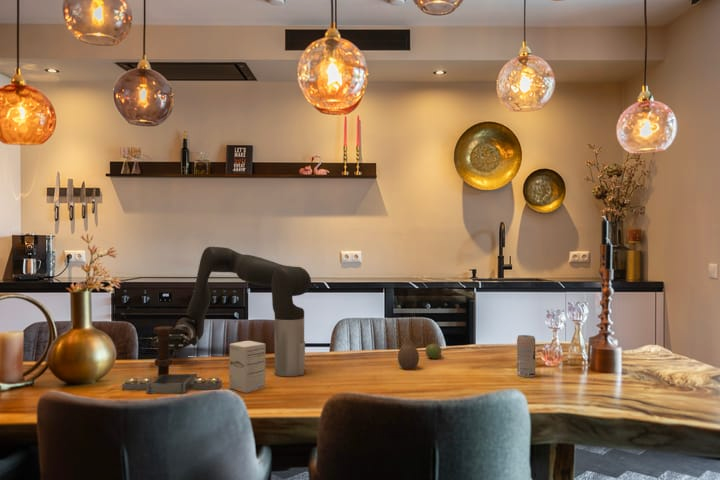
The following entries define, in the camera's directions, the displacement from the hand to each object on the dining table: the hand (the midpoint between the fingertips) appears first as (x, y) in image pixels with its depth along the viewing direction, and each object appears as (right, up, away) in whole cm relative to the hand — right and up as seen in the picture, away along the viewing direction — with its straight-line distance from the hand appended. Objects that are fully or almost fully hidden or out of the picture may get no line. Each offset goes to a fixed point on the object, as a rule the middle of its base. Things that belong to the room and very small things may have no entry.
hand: (170, 344), depth 171 cm
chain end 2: (+13, -8, -22) cm, 27 cm away
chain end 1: (+4, -8, -23) cm, 24 cm away
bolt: (+1, -8, -10) cm, 13 cm away
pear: (+88, -8, +19) cm, 90 cm away
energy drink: (+112, -8, -9) cm, 113 cm away
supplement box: (+30, -8, -23) cm, 38 cm away
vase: (+77, -8, +1) cm, 77 cm away
